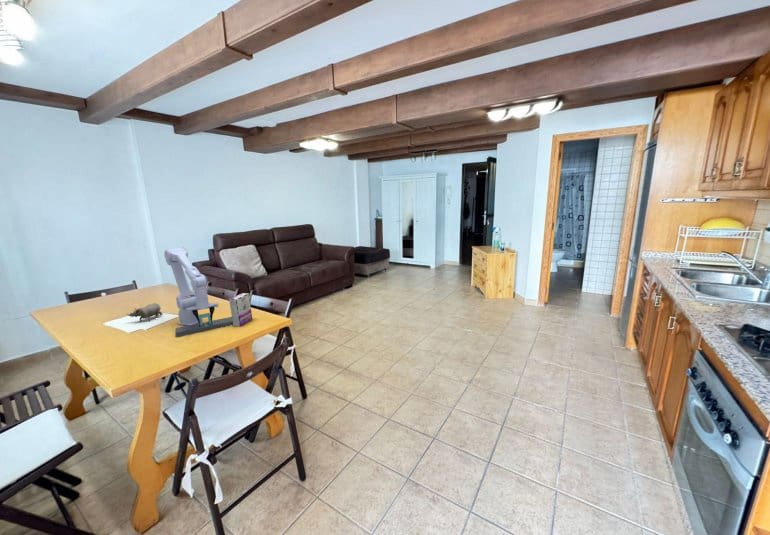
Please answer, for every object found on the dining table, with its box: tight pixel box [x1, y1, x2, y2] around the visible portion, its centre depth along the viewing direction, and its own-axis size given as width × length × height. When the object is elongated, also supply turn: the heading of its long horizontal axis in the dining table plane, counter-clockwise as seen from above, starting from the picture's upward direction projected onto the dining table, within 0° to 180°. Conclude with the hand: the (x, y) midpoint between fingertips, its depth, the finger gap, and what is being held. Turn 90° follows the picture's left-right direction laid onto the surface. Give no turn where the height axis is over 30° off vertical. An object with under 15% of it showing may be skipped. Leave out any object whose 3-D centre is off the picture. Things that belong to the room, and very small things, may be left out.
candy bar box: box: [228, 292, 253, 328], centre depth 171 cm, size 11×5×16 cm, turn 168°
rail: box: [174, 316, 233, 338], centre depth 166 cm, size 28×8×2 cm, turn 124°
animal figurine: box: [126, 302, 164, 321], centre depth 180 cm, size 8×14×15 cm
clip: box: [198, 312, 211, 326], centre depth 165 cm, size 5×2×6 cm, turn 124°
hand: (205, 321), depth 165 cm, fingers closed on clip, 5 cm apart
